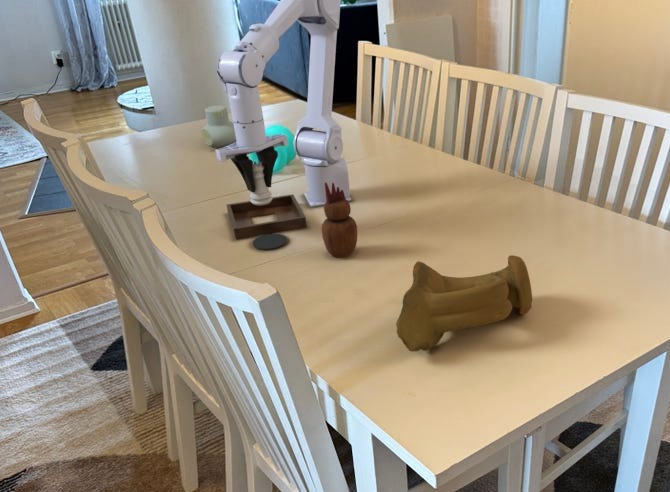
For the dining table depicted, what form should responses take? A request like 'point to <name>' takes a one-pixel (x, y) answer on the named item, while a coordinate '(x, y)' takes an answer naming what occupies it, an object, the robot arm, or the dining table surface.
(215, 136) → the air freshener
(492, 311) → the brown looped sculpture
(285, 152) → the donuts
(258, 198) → the rook chess piece
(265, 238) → the coaster
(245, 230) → the tray
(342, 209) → the wooden figurine
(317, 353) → the dining table surface
